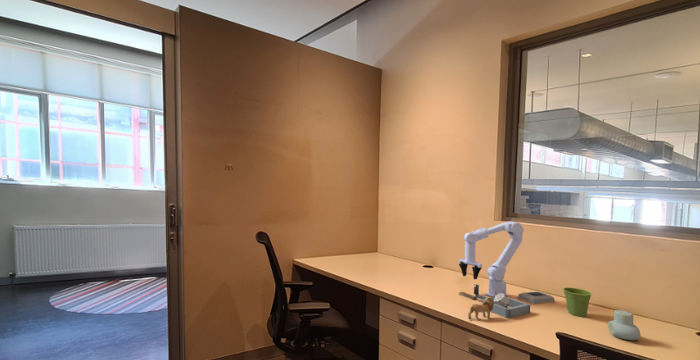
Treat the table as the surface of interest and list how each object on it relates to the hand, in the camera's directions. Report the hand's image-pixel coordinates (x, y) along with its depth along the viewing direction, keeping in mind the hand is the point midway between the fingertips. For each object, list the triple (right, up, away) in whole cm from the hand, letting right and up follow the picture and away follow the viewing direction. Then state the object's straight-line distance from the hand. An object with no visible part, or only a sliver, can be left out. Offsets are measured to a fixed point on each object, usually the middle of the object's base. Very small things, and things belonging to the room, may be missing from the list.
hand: (469, 277), depth 178 cm
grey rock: (+7, -9, -23) cm, 26 cm away
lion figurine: (-9, -8, -36) cm, 38 cm away
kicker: (+2, -9, -14) cm, 17 cm away
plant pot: (+42, -10, -27) cm, 51 cm away
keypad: (+34, -11, -7) cm, 37 cm away
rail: (-3, -9, -6) cm, 11 cm away
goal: (+8, -8, -26) cm, 28 cm away
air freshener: (+43, -8, -52) cm, 68 cm away
